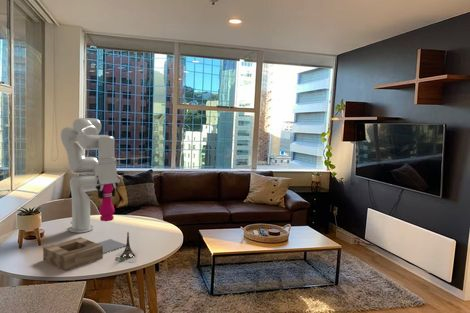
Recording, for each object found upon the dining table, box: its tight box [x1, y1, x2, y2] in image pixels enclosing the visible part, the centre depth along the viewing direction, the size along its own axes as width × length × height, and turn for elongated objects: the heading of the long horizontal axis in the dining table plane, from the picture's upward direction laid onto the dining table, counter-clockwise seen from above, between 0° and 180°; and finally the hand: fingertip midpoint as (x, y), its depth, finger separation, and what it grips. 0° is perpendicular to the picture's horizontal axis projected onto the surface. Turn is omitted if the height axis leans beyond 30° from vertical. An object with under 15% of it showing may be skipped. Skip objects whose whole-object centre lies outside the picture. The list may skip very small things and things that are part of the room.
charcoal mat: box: [96, 238, 127, 255], centre depth 177 cm, size 14×14×1 cm
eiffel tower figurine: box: [114, 231, 136, 263], centre depth 165 cm, size 15×10×13 cm
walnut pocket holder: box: [42, 236, 104, 272], centre depth 160 cm, size 18×18×6 cm
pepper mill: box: [98, 184, 115, 222], centre depth 175 cm, size 7×7×20 cm
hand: (106, 196), depth 174 cm, fingers closed on pepper mill, 5 cm apart
